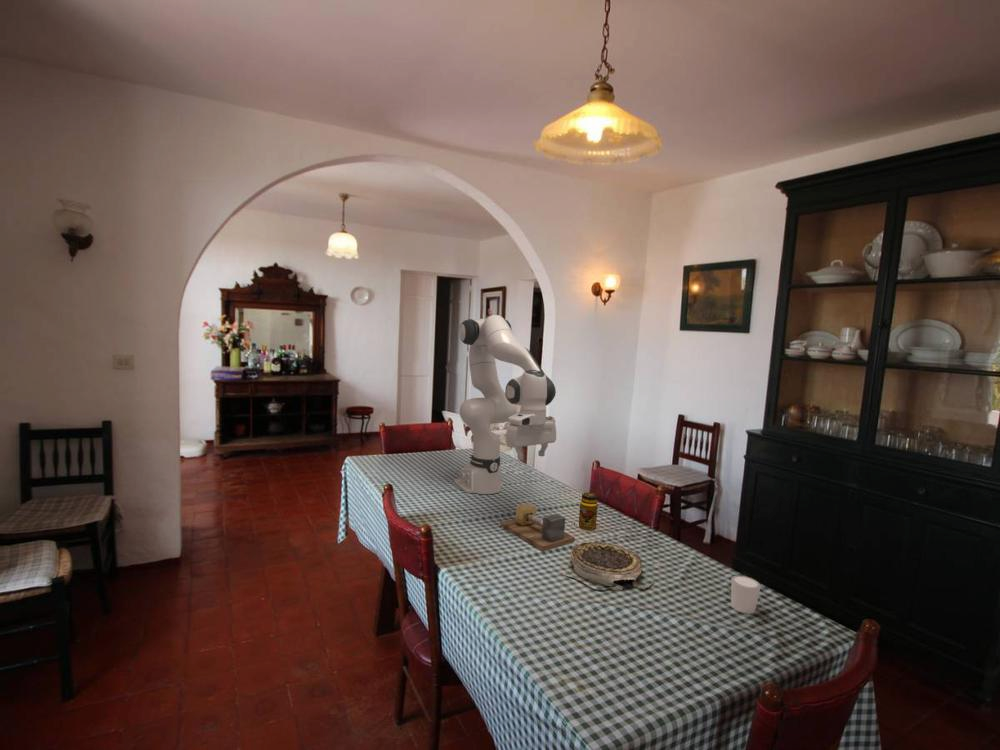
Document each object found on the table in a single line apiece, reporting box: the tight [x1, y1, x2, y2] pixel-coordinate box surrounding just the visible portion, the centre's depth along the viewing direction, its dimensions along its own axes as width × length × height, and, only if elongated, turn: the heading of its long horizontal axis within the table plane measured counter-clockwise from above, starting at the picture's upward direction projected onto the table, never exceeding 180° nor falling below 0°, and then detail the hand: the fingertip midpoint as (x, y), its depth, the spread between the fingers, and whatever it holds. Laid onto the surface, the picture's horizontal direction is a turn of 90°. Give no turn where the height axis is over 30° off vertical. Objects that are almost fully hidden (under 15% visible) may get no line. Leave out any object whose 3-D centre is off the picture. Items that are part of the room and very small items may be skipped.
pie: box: [558, 541, 655, 591], centre depth 147 cm, size 28×27×5 cm
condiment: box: [572, 492, 601, 533], centre depth 177 cm, size 7×8×12 cm
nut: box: [514, 503, 537, 526], centre depth 173 cm, size 4×6×6 cm
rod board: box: [499, 513, 576, 552], centre depth 169 cm, size 22×14×8 cm, turn 37°
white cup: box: [730, 575, 762, 615], centre depth 130 cm, size 7×7×7 cm
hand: (531, 457), depth 173 cm, fingers open, 8 cm apart
